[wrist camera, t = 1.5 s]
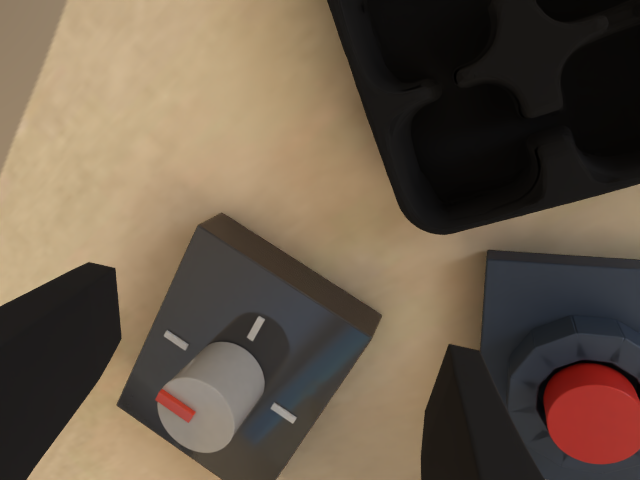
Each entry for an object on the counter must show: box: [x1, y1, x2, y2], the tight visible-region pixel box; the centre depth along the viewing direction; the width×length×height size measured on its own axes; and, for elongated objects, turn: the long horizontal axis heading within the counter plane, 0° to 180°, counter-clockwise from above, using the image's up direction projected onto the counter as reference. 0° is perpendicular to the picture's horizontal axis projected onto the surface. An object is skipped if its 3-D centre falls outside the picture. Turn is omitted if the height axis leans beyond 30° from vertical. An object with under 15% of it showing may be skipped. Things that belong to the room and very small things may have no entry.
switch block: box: [480, 250, 640, 480], centre depth 24 cm, size 11×9×3 cm
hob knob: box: [155, 342, 265, 453], centre depth 27 cm, size 4×4×4 cm
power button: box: [543, 363, 640, 464], centre depth 22 cm, size 4×4×2 cm
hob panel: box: [117, 213, 382, 480], centre depth 29 cm, size 13×10×3 cm
